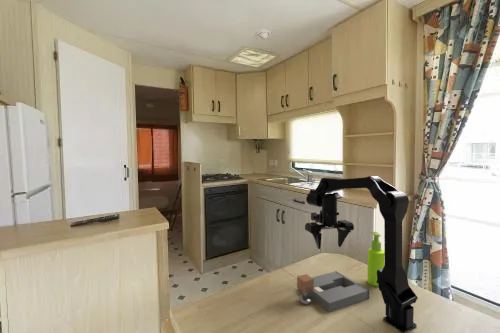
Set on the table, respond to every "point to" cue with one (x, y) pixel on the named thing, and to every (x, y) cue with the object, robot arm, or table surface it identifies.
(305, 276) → the key peg
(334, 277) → the keyhole plate
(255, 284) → the table surface
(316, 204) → the robot arm
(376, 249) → the soap dispenser
